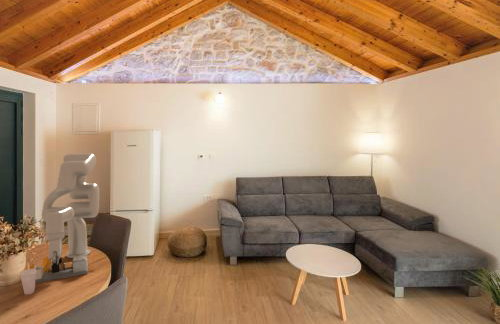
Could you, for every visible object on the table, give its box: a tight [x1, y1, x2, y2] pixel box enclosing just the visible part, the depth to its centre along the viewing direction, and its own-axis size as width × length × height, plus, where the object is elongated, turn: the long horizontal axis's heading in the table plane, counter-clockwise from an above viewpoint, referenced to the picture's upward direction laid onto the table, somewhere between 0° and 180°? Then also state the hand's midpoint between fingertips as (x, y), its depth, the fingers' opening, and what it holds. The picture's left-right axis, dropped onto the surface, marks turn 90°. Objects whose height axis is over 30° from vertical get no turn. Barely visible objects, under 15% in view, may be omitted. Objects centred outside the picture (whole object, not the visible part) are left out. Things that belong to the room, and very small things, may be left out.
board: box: [35, 265, 89, 284], centre depth 154 cm, size 8×24×1 cm, turn 116°
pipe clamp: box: [25, 256, 52, 273], centre depth 156 cm, size 12×4×6 cm, turn 168°
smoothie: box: [18, 262, 37, 295], centre depth 137 cm, size 6×6×14 cm
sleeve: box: [72, 255, 88, 273], centre depth 157 cm, size 6×6×6 cm
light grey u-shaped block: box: [33, 264, 43, 280], centre depth 150 cm, size 6×3×5 cm, turn 26°
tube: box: [47, 261, 73, 273], centre depth 155 cm, size 4×16×4 cm, turn 116°
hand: (57, 268), depth 153 cm, fingers open, 9 cm apart
